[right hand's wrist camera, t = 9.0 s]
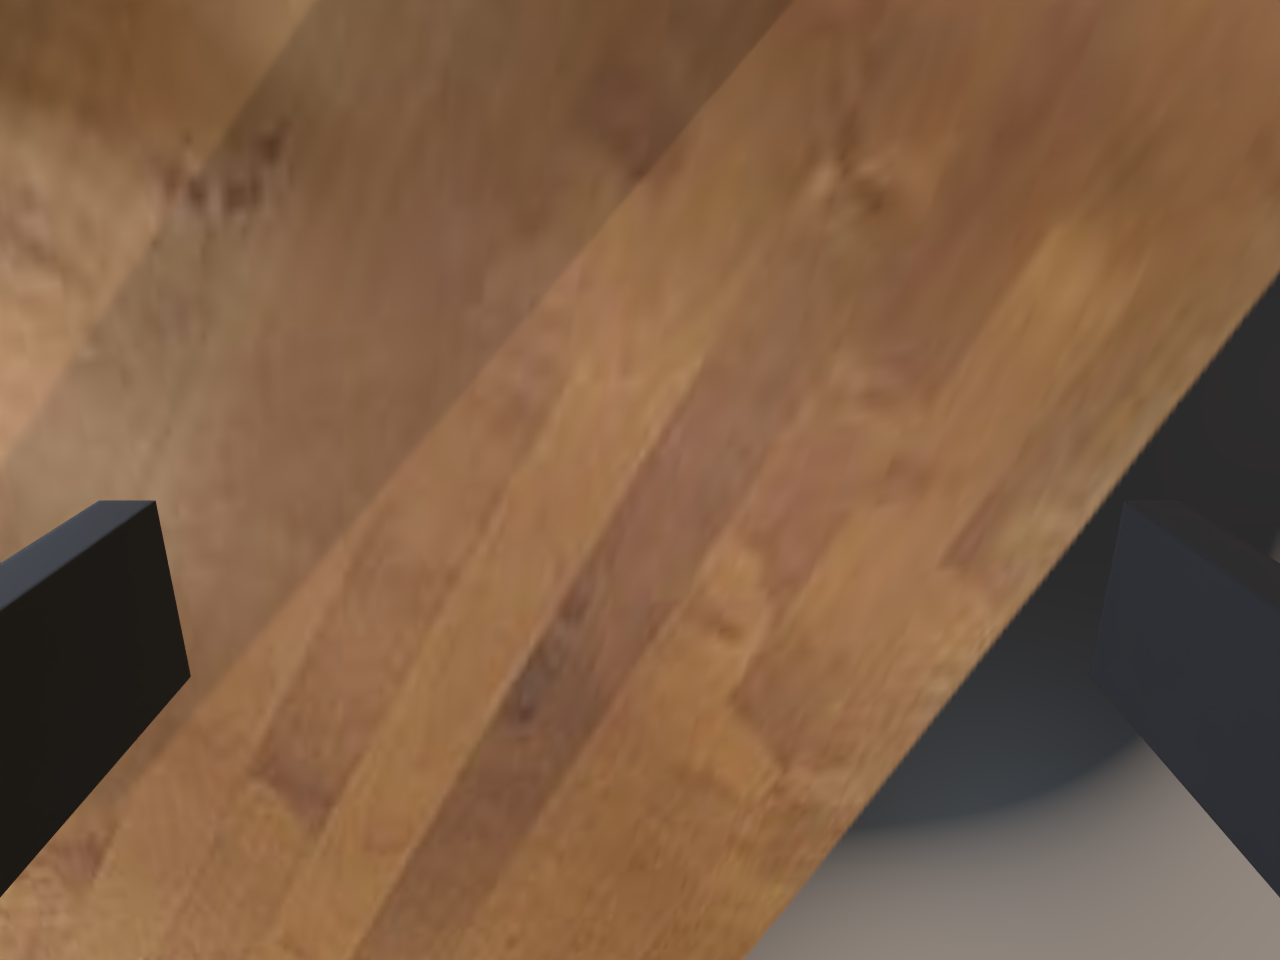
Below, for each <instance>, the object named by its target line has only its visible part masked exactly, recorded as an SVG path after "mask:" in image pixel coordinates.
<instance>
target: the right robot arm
mask: <svg viewBox="0 0 1280 960" xmlns="http://www.w3.org/2000/svg"><path fill="white" fill-rule="evenodd" d="M190 677H191V675H190V670H189V665H188V660H187V655H186V650H185V645H184V640H183V635H182V630H181V625H180V620H179V615H178V610H177V605H176V600H175V595H174V590H173V585H172V580H171V575H170V570H169V565H168V560H167V555H166V550H165V546H164V541H163V536H162V531H161V526H160V521H159V516H158V511H157V506H156V501H98V502H96V503H95V504H93V505H91V506H90V507H88V508H87V509H85V510H84V511H82V512H80V513H79V514H77V515H76V516H74V517H73V518H71V519H69V520H68V521H66V522H65V523H63V524H62V525H60V526H58V527H57V528H55V529H54V530H52V531H51V532H49V533H47V534H46V535H44V536H43V537H41V538H40V539H38V540H37V541H35V542H33V543H32V544H30V545H29V546H27V547H26V548H24V549H22V550H21V551H19V552H18V553H16V554H15V555H13V556H11V557H10V558H8V559H7V560H5V561H4V562H2V563H0V897H1V896H2V895H3V894H4V892H5V891H6V890H7V889H8V888H9V887H10V885H11V884H12V883H13V882H14V881H15V880H16V878H17V877H18V876H19V875H20V874H21V873H22V872H23V870H24V869H25V868H26V867H27V866H28V865H29V863H30V862H31V861H32V860H33V859H34V858H35V856H36V855H37V854H38V853H39V852H40V851H41V849H42V848H43V847H44V846H45V845H46V844H47V843H48V841H49V840H50V839H51V838H52V837H53V836H54V834H55V833H56V832H57V831H58V830H59V829H60V827H61V826H62V825H63V824H64V823H65V822H66V821H67V819H68V818H69V817H70V816H71V815H72V814H73V812H74V811H75V810H76V809H77V808H78V807H79V805H80V804H81V803H82V802H83V801H84V800H85V798H86V797H87V796H88V795H89V794H90V793H91V792H92V790H93V789H94V788H95V787H96V786H97V785H98V783H99V782H100V781H101V780H102V779H103V778H104V776H105V775H106V774H107V773H108V772H109V771H110V769H111V768H112V767H113V766H114V765H115V764H116V763H117V761H118V760H119V759H120V758H121V757H122V756H123V754H124V753H125V752H126V751H127V750H128V749H129V747H130V746H131V745H132V744H133V743H134V742H135V741H136V739H137V738H138V737H139V736H140V735H141V734H142V732H143V731H144V730H145V729H146V728H147V727H148V725H149V724H150V723H151V722H152V721H153V720H154V718H155V717H156V716H157V715H158V714H159V713H160V712H161V710H162V709H163V708H164V707H165V706H166V705H167V703H168V702H169V701H170V700H171V699H172V698H173V696H174V695H175V694H176V693H177V692H178V691H179V690H180V688H181V687H182V686H183V685H184V684H185V683H186V681H187V680H188V679H189V678H190ZM1089 677H1090V678H1091V679H1092V680H1093V681H1094V683H1095V684H1096V685H1097V686H1098V687H1099V688H1100V690H1101V691H1102V692H1103V693H1104V694H1105V695H1106V696H1107V698H1108V699H1109V700H1110V701H1111V702H1112V703H1113V705H1114V706H1115V707H1116V708H1117V709H1118V710H1119V712H1120V713H1121V714H1122V715H1123V716H1124V717H1125V718H1126V720H1127V721H1128V722H1129V723H1130V724H1131V725H1132V727H1133V728H1134V729H1135V730H1136V731H1137V732H1138V734H1139V735H1140V736H1141V737H1142V738H1143V739H1144V740H1145V742H1146V743H1147V744H1148V745H1149V746H1150V747H1151V749H1152V750H1153V751H1154V752H1155V753H1156V754H1157V756H1158V757H1159V758H1160V759H1161V760H1162V761H1163V763H1164V764H1165V765H1166V766H1167V767H1168V768H1169V769H1170V771H1171V772H1172V773H1173V774H1174V775H1175V776H1176V778H1177V779H1178V780H1179V781H1180V782H1181V783H1182V785H1183V786H1184V787H1185V788H1186V789H1187V790H1188V792H1189V793H1190V794H1191V795H1192V796H1193V797H1194V798H1195V800H1196V801H1197V802H1198V803H1199V804H1200V805H1201V807H1202V808H1203V809H1204V810H1205V811H1206V812H1207V813H1208V815H1209V816H1210V817H1211V818H1212V819H1213V820H1214V822H1215V823H1216V824H1217V825H1218V826H1219V827H1220V829H1221V830H1222V831H1223V832H1224V833H1225V834H1226V836H1227V837H1228V838H1229V839H1230V840H1231V841H1232V843H1233V844H1234V845H1235V846H1236V847H1237V848H1238V849H1239V851H1240V852H1241V853H1242V854H1243V855H1244V856H1245V858H1246V859H1247V860H1248V861H1249V862H1250V863H1251V865H1252V866H1253V867H1254V868H1255V869H1256V870H1257V872H1258V873H1259V874H1260V875H1261V876H1262V877H1263V878H1264V880H1265V881H1266V882H1267V883H1268V884H1269V885H1270V887H1271V888H1272V889H1273V890H1274V891H1275V892H1276V894H1277V895H1278V896H1279V897H1280V563H1278V562H1276V561H1275V560H1273V559H1272V558H1270V557H1269V556H1267V555H1265V554H1264V553H1262V552H1261V551H1259V550H1258V549H1256V548H1254V547H1253V546H1251V545H1250V544H1248V543H1247V542H1245V541H1243V540H1242V539H1240V538H1239V537H1237V536H1236V535H1234V534H1232V533H1231V532H1229V531H1228V530H1226V529H1225V528H1223V527H1222V526H1220V525H1218V524H1217V523H1215V522H1214V521H1212V520H1211V519H1209V518H1207V517H1206V516H1204V515H1203V514H1201V513H1200V512H1198V511H1196V510H1195V509H1193V508H1192V507H1190V506H1189V505H1187V504H1185V503H1184V502H1182V501H1124V506H1123V511H1122V516H1121V521H1120V526H1119V531H1118V536H1117V541H1116V546H1115V550H1114V556H1113V560H1112V565H1111V570H1110V575H1109V581H1108V585H1107V590H1106V595H1105V600H1104V606H1103V610H1102V616H1101V621H1100V626H1099V631H1098V635H1097V640H1096V645H1095V650H1094V656H1093V660H1092V665H1091V670H1090V675H1089Z"/></svg>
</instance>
